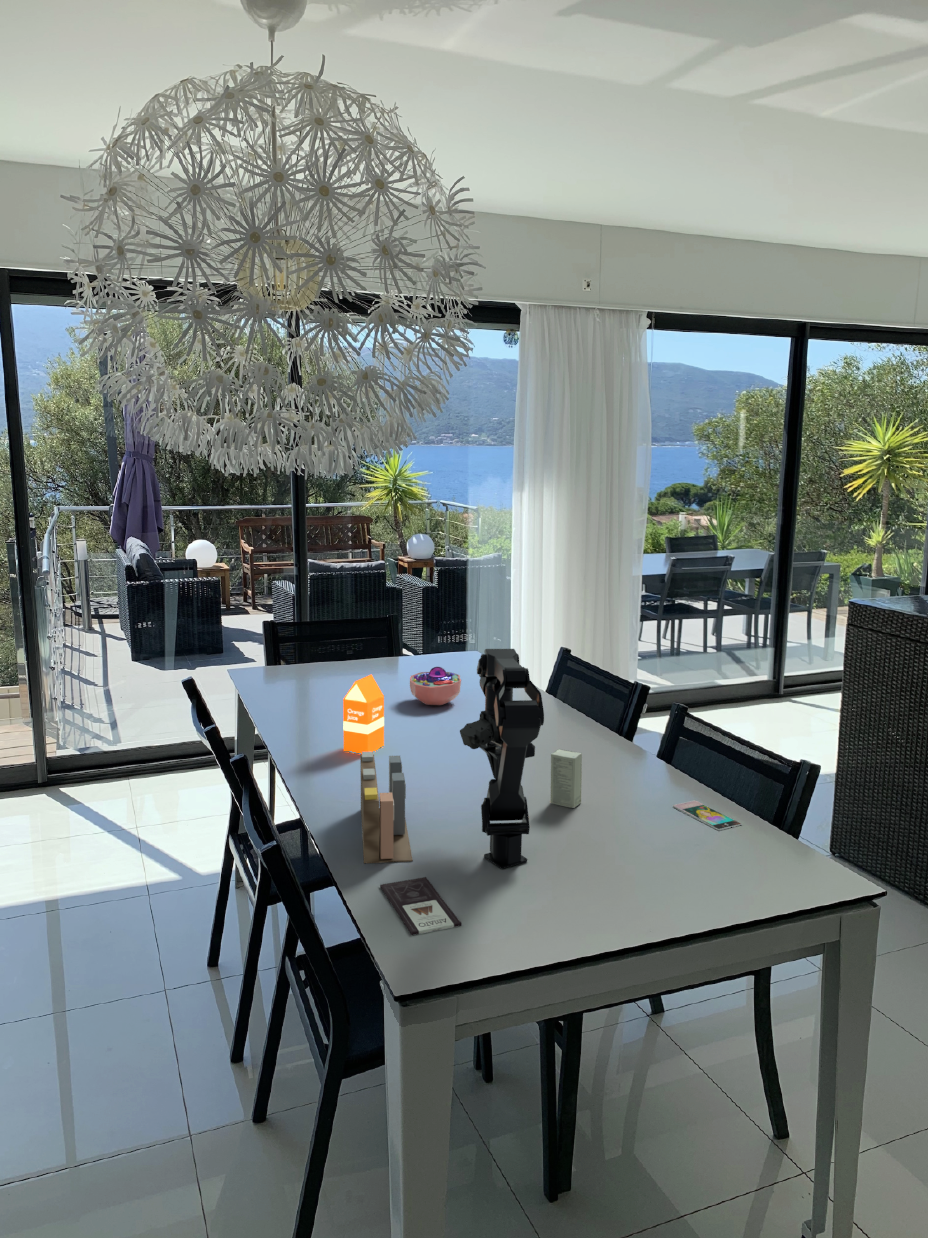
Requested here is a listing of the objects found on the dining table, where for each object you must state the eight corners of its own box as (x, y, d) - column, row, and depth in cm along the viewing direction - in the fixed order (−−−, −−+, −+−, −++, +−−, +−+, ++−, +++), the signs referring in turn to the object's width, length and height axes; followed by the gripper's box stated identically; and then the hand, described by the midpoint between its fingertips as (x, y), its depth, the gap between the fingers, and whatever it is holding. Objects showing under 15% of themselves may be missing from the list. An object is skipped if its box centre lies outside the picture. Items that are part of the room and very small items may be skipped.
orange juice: (384, 746, 248) (384, 675, 244) (368, 756, 240) (367, 683, 236) (360, 742, 251) (359, 672, 248) (342, 751, 243) (342, 679, 240)
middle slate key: (404, 825, 194) (404, 772, 192) (405, 834, 190) (406, 780, 188) (391, 826, 194) (391, 773, 192) (392, 835, 190) (393, 780, 187)
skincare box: (581, 803, 210) (583, 753, 208) (573, 809, 207) (575, 758, 204) (556, 797, 214) (558, 748, 211) (548, 803, 210) (550, 753, 208)
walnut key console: (403, 808, 206) (403, 749, 203) (412, 861, 179) (412, 794, 177) (360, 810, 204) (360, 750, 202) (363, 863, 178) (363, 796, 175)
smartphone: (718, 829, 196) (671, 805, 209) (718, 832, 196) (671, 808, 209) (742, 824, 199) (695, 800, 212) (742, 827, 200) (695, 803, 212)
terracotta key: (393, 848, 183) (393, 792, 181) (394, 858, 179) (394, 800, 177) (379, 849, 183) (379, 792, 181) (380, 858, 179) (380, 801, 176)
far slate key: (400, 806, 205) (401, 755, 203) (402, 813, 201) (402, 762, 198) (388, 806, 205) (389, 755, 203) (390, 814, 200) (390, 762, 198)
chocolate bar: (425, 877, 172) (461, 923, 155) (425, 881, 172) (461, 928, 156) (380, 884, 168) (411, 932, 152) (380, 889, 169) (411, 937, 152)
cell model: (399, 709, 284) (399, 674, 282) (421, 693, 303) (421, 660, 301) (450, 714, 279) (451, 678, 277) (469, 697, 298) (470, 664, 296)
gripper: (442, 702, 192) (441, 772, 195) (492, 725, 177) (490, 800, 179) (486, 695, 198) (484, 763, 201) (537, 716, 183) (535, 790, 185)
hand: (497, 778), depth 191 cm, fingers closed
